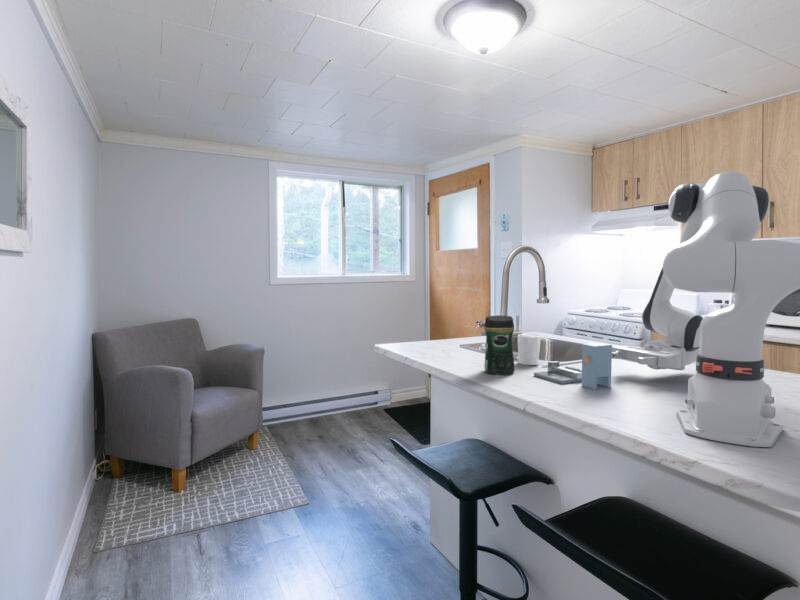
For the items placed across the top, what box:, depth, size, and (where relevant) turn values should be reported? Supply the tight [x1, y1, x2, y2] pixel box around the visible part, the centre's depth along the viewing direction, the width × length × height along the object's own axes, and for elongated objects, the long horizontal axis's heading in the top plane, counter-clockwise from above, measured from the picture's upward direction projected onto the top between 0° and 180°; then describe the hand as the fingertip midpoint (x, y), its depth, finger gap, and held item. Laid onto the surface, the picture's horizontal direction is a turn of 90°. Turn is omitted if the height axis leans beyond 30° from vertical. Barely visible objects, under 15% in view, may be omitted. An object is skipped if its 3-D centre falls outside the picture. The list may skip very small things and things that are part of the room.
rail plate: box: [533, 360, 582, 385], centre depth 143 cm, size 12×14×4 cm
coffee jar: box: [483, 314, 516, 375], centre depth 151 cm, size 10×8×19 cm
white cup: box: [517, 333, 542, 366], centre depth 165 cm, size 8×8×10 cm
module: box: [581, 342, 613, 390], centre depth 132 cm, size 4×7×12 cm, turn 115°
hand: (626, 358), depth 137 cm, fingers open, 8 cm apart
